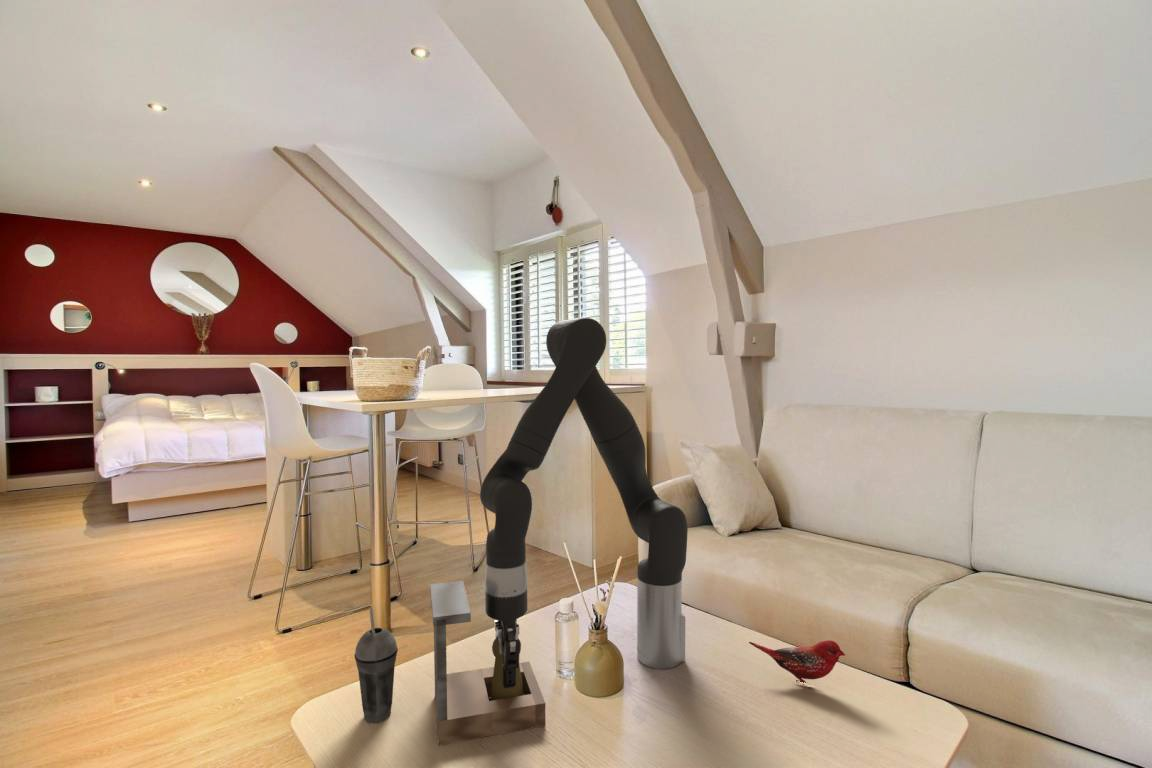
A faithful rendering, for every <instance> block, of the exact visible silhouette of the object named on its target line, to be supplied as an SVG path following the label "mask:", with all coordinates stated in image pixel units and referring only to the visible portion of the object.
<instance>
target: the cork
mask: <svg viewBox="0 0 1152 768" xmlns="http://www.w3.org/2000/svg"><path fill="white" fill-rule="evenodd" d="M518 639H519V640H520V638H519V637H518ZM520 643H521V644H520V652H521V650H522V642H521V641H520ZM502 648H503V649H505V647H504V645H503V644H502ZM491 651H492V654H493V656H494V658H495V659H494V666H493V667H494V673H493V681H492V689H491V697H490V698H489V700H490V701H493V700H499V699H505V698H511V697H517V696H523V695H525V694H524V692H523V686H522V679H521V672H520V665H519V668H516V685H515V686H514V687H510V688H504V686H503V666H502V655H501V654H500V652H499V643H498V637H497V638H494V640H493V641H492V645H491Z"/></svg>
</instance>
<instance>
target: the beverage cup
mask: <svg viewBox="0 0 1152 768" xmlns="http://www.w3.org/2000/svg"><path fill="white" fill-rule="evenodd" d="M368 609H369V618H370V626H371V627H370V629H369V630H367V631H365V633H363V634H362V635H361V636H360V638H359V640H358V641H357V644H356V646H355V651H354V660H355V664H356V668H357V672H358V678H359V679H358V681H359V690H360V697H361V706H362V712H363V718H364V719H363V720H364V721H365V723H367V724H380V723H383V722H385V721H387V720H388V719H389V718H390V717H391V714H392V706H393V697H394V696H393V695H394V683H395V682H394V679H395V678H394V677H395V667H396V661H397V655H398V650H399V648H398V645H397V640H396V638H395V636H394V635H393V633H392V632H391V631H390V630H388V629H386V628H383V627H375V619H374V610H373V607H369V608H368Z"/></svg>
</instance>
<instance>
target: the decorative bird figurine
mask: <svg viewBox="0 0 1152 768" xmlns="http://www.w3.org/2000/svg"><path fill="white" fill-rule="evenodd" d="M748 644H749V645H752V646H753V647H754V648H756V649H758V650H760V651H761V652H763V653H765V654H767V655H768V656H770V658H771V659H772V660H774V661H775V663H776V664H777V665H778V666H779V667H780V668H782V669H784V670H785V671H787V672H789V673H790V674H792V675H793V676H794V677H795V678H796V679H795V680H796V682H797V681H800V682H803V683H804V682H805V683H806V682H807V681H806V680H818V679H822V678H824V677H826V676H828V675H829V674H830V673H831V672H832V671H833V669H834V668H835V666H836V664H837V663H838V662H839V659H840V657H841V656H844V657H847V654H845V653H844V652H843V650H842V649H841V647H840V646H839V644H838V643H837V642H836V641H834V640H831V639H830V640H829V639H828V640H824V641H823V640H822V641H820V642H818V643H817V644H814V645H811V646H805V647H804V646H801V647H800V646H798V647H797V646H796V647H795V646H793V647H784V648H779V649H771V648H768V647H766V646H763V645H760V644H757V643H755V642H752V641H748Z"/></svg>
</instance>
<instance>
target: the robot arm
mask: <svg viewBox="0 0 1152 768" xmlns="http://www.w3.org/2000/svg"><path fill="white" fill-rule="evenodd" d="M545 340H546V342H545V344H546V349H547V352H548V355H549V358H550V359H551V361H552V363H553V364H554V365H553V366H555V368H554V370H553V373H552V374H551V376H550V377H549V379H548V381H547V382H546V384H545V385H544V387H543V388H542V390H540V392H539V393H538V395H536V397H535V398H534V399H533V401H532V402H531V403H530V404H529V406H528V407H527V408H526V410H525V411H524V412H523V414H522V415H521V417H520V420H519V421H518V423H517V426H516V427H515V429H514V431H513V434H512V436H511V438H510V441H509V442H508V445H507V447H506V449H505V450H504V451H503V453H501V455H500V456H499V457H498V459H497V460H496V461H495V463H494V464H493V465H492V467H491V468H490V470H489V471H488V472H487V474H486V476H485V477H484V479H483V481H482V483H481V487H480V490H479V491H480V493H479V498H480V502H481V504H482V506H483V507H484V508H485V509H486V510H488V511H489V512H491V513H493V514H494V516H495V520H494V521H495V523H494V528H492V529H490V531H488V533H487V535H486V543H485V550H486V551H485V556H486V557H485V558H486V560H485V561H486V565H485V573H484V584H485V585H484V586H485V587H484V592H485V593H484V594H485V595H484V597H485V598H484V599H485V601H484V603H485V604H484V605H485V614H486V615H487V617H489V618H490V619H493V620H494V623H493V625H494V629H495V631H494V632H495V635H494V637H495V638H494V639H496V638H497V637H498V643H499V652H500V654H501V655H502V666H503V686H504V688H510V687H514V686H515V685H516V668H519V663H520V654H521V651H520V644H521V645H522V642H521V640H520V638H519V635H520V633H521V632H520V624H519V623H517V620H518V619H519V618H521V617H523V616H524V615H526V613H527V611H528V570H527V561H526V559H527V555H526V550H527V549H526V547H527V545H526V537H527V534H528V530H529V526H530V520H531V516H532V510H533V508H532V507H533V498H532V492H531V490H530V488H529V487H528V485H527V484H526V483H525V482H524V481H523V480H524V478H525V477H526V476H527V474H528V473H529V472H531V471H536V470H538V469H539V468H540V466H542V463H543V461H544V460H545V458H546V456H547V454H548V451H549V449H550V447H551V444H552V442H553V440H554V438H555V435H556V434H557V432H558V429H559V428H560V425H561V424H562V421H563V419H564V417H565V415H566V414H567V412H568V411H569V409H570V407H571V405H572V404H573V402H574V401H575V403H576V405H577V408H578V410H579V412H580V413H581V416H582V418H583V420H584V422H585V424H586V427H587V428H588V430H589V433H590V436H591V438H592V440H593V442H594V445H595V446H596V449H597V451H598V453H599V455H600V457H601V459H602V460H603V462H604V464H605V466H606V468H607V470H608V473H609V475H610V476H611V479H612V480H613V482H614V484H615V487H616V488H617V491H618V493H619V495H620V498H621V500H622V504H623V506H624V509H625V513H626V515H627V519H628V521H629V524H630V526H631V529H632V531H633V532H634V534H635V535H636V536H637V537H638V538H639V539H641V540H642V541H644V542H645V543H648V555H647V558H646V557H645V558H644V559H642V560H640V561H639V562H638V565H637V570H636V571H637V573H636V576H637V580H636V581H637V582H636V583H637V587H636V589H637V590H636V591H637V593H636V594H637V597H636V598H637V601H636V602H637V606H636V608H637V610H636V614H637V615H636V617H637V619H636V620H637V621H636V622H637V623H636V624H637V625H636V630H637V631H636V637H637V638H636V640H637V641H636V642H637V643H636V652H637V653H636V657H637V660H638V661H639V662H640V663H641V664H643V665H645V666H647V667H649V668H652V669H653V668H654V669H658V670H659V669H661V670H662V669H671V668H674V667H676V666H678V665H680V663H683V662H686V616H685V615H684V614H683V613H682V612H683V611H682V604H683V603H682V602H683V600H682V599H683V597H682V596H683V595H682V589H683V586H682V584H683V581H682V580H683V579H682V578H683V571H684V569H685V566H686V562H687V550H688V548H687V547H688V533H689V532H688V531H689V530H688V521H687V518H686V514H685V513H684V511H683V510H682V509H681V508H680V507H678V506H676V505H673V504H672V503H670V502H666V501H664V500H662V499H661V498H660V497H659V496H658V494H657V493H656V491H655V489H654V487H653V485H652V484H651V481H650V479H649V477H648V474H647V470H646V457H647V456H646V445H645V441H644V438H643V436H642V434H641V431H640V428H639V427H638V424H637V422H636V419H635V418H634V416H633V414H632V413H631V410H629V408H628V406H627V405H626V404H625V403H624V402H623V401H622V400H621V398H619V397H618V395H616V394H615V392H614V391H613V390H612V389H611V387H609V386H608V384H607V383H606V382H605V380H604V379H603V378H602V376H601V375H600V372H599V370H598V368H597V365H598V363H599V361H600V360H601V359H602V356H603V355H604V353H605V350H606V346H607V335H606V330H605V329H604V327H603V325H602V324H601V323H600V322H599V321H597V320H596V319H594V318H591V317H576V318H569V319H565V320H560V321H557V322H555V323H553V324H552V325H551V326H550V328H549V330H548V332H547V335H546V339H545ZM518 638H519V639H518ZM520 642H521V643H520ZM502 644H503V645H504V647H505V649H503V648H502Z"/></svg>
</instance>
